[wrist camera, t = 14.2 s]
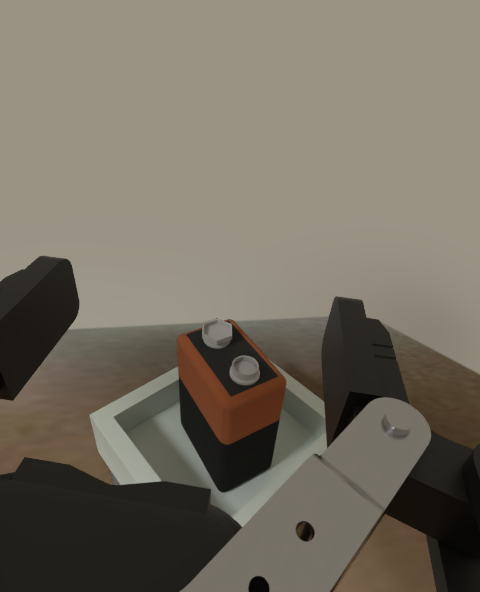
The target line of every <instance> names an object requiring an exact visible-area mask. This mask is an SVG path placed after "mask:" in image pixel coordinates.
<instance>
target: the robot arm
mask: <svg viewBox="0 0 480 592" xmlns="http://www.w3.org/2000/svg"><path fill="white" fill-rule="evenodd" d="M78 310H79V298H78V293H77V288H76V284H75V279H74V274H73V269H72V265H71V263H70V261H69V260H67V259H63V258H55V257H48V256H40V257H39V258H37V259H36V260H35V261H34V262H32V263H31V264H30V265H29V266H28V267H27V268H26V269H25V270H20V271H18V272H16V273H14V274H12V275H10V276H8V277H6V278H4V279H3V280H2V281H1V282H0V399H5V400H12V401H13V400H14V399H15V397H16V396H17V395H18V393H19V392H20V391H21V389H22V388H23V387H24V385H25V384H26V383H27V382H28V380H29V379H30V378H31V376H32V375H33V374H34V372H35V371H36V370H37V369H38V367H39V366H40V365H41V363H42V362H43V361H44V359H45V358H46V357H47V355H48V354H49V353H50V352H51V350H52V349H53V348H54V346H55V345H56V344H57V342H58V341H59V340H60V339H61V337H62V336H63V335H64V333H65V332H66V331H67V329H68V328H69V327H70V325H71V324H72V323H73V322H74V320H75V319H76V317H77V314H78ZM322 372H323V389H324V406H325V423H326V440H327V449H326V450H325V451H324V452H323V453H322V454H321V455H318V454H316V453H315V454H313V455H311V456H310V457H309V458H308V459H307V460H306V461H305V462H304V463H303V464H302V465H301V466H300V467H299V468H298V469H297V470H296V471H295V472H294V473H293V474H292V475H291V476H290V477H289V479H288V480H287V481H286V482H285V483H284V484H283V485H282V486H281V487H280V488H279V489H278V490H277V491H276V492H275V493H274V494H273V495H272V496H271V498H270V499H269V500H268V501H267V502H266V503H265V504H264V505H263V506H262V507H261V508H260V509H259V510H258V511H257V512H256V513H255V514H254V516H253V517H252V518H251V519H250V520H249V521H248V522H247V523H246V524H245V525H244V526H243V527H242V526H241V525H240V524H239V523H238V522H237V521H236V520H234V519H233V518H232V517H231V516H230V515H229V514H227V513H226V512H224V511H223V510H221V509H220V508H218V507H216V506H214V505H212V504H210V501H211V489H208V488H202V487H196V486H190V485H184V484H179V483H173V482H167V481H159V482H148V483H136V484H125V485H110V484H107V483H105V482H103V481H101V480H99V479H97V478H95V477H93V476H91V475H89V474H87V473H85V472H83V471H81V470H79V469H77V468H75V467H73V466H71V465H67V464H61V463H56V462H50V461H44V460H38V459H32V458H26V457H25V458H24V459H23V461H22V462H21V464H20V465H19V467H18V469H17V470H16V472H13V473H7V474H2V475H0V592H334V591H335V590H336V588H337V587H338V585H339V584H340V582H341V580H342V579H343V577H344V576H345V574H346V573H347V571H348V570H349V568H350V567H351V565H352V564H353V562H354V561H355V559H356V557H357V556H358V554H359V553H360V551H361V550H362V548H363V547H364V545H365V544H366V542H367V541H368V539H369V538H370V536H371V535H372V533H373V532H374V530H375V529H376V527H377V526H378V524H379V523H380V521H381V520H382V518H383V517H384V515H385V514H387V515H389V516H391V517H393V518H395V519H397V520H399V521H401V522H403V523H405V524H407V525H409V526H411V527H413V528H414V529H416V530H418V531H420V532H422V533H424V534H426V537H427V542H428V548H429V553H430V558H431V564H432V569H433V574H434V580H435V585H436V590H437V592H480V444H479V445H477V446H476V448H475V449H474V450H472V449H470V448H467V447H465V446H462V445H460V444H458V443H455V442H453V441H451V440H448V439H446V438H444V437H442V436H439V435H438V434H436V433H434V432H433V431H431V430H430V427H429V425H428V423H427V421H426V420H425V418H424V417H423V416H422V414H421V413H420V412H419V411H417V410H416V409H415V408H414V407H412V406H411V405H409V402H408V398H407V395H406V391H405V387H404V384H403V380H402V377H401V373H400V370H399V366H398V363H397V361H396V356H395V352H394V349H393V345H392V341H391V338H390V334H389V332H388V331H387V330H386V328H385V327H384V326H383V325H382V324H381V322H380V321H379V320H377V319H370V318H366V314H365V310H364V305H363V301H362V300H358V299H351V298H343V297H335V298H334V301H333V305H332V308H331V312H330V315H329V319H328V323H327V326H326V330H325V334H324V338H323V343H322Z"/></svg>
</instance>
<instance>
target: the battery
mask: <svg viewBox="0 0 480 592" xmlns="http://www.w3.org/2000/svg"><path fill="white" fill-rule="evenodd" d="M177 351H178V374H179V396H180V418H181V424H182V426H183V428H184V430H185V432H186V434H187V435H188V437H189V439H190V441H191V443H192V444H193V446H194V448H195V450H196V452H197V453H198V455H199V457H200V459H201V461H202V462H203V464H204V466H205V468H206V470H207V471H208V473H209V475H210V477H211V479H212V480H213V482H214V484H215V486H216V487H217V489H218V490H219V491H220V492H222V493H225V492H227V491H229V490H231V489H233V488H234V487H236V486H238V485H240V484H242V483H243V482H245V481H247V480H249V479H251V478H252V477H254V476H256V475H258V474H259V473H261V472H263V471H265V470H267V469H268V468H270V467H271V464H272V458H273V453H274V448H275V442H276V437H277V432H278V426H279V421H280V416H281V410H282V405H283V400H284V394H285V389H286V379H285V377H284V376H283V375H282V374H281V372H280V371H279V370H278V369H277V368H276V367H275V366H274V365H273V364H272V362H271V361H270V360H269V359H268V358H267V357H266V356H265V355H264V354H263V353H262V351H261V350H260V349H259V348H258V347H257V346H256V345H255V344H254V343H253V341H252V340H251V339H250V338H249V337H248V336H247V335H246V334H245V333H244V332H243V330H242V329H241V328H240V327H239V326H238V325H237V324H236V323H235V322H234V321H233V320H231V319H229V320H225V321H223V320H221V319H218V318H216V319H213V320H210V321H207V322H204V323H203V327H202V328H200V329H197V330H194V331H191V332H188V333H185V334H182V335H180V336H179V337H178V339H177Z"/></svg>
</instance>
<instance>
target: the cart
mask: <svg viewBox="0 0 480 592" xmlns="http://www.w3.org/2000/svg"><path fill="white" fill-rule="evenodd" d="M271 362H272V361H271ZM272 364H273V365H274V366H275V367H276V368H277V369H278V370H279V371H280V372H281V374H282V375H283V376H284V377H285V379H286V389H285V394H284V400H283V405H282V410H281V416H280V421H279V426H278V432H277V437H276V442H275V448H274V453H273V458H272V464H271V467H270V468H268V469H267V470H265V471H263V472H261V473H259V474H258V475H256V476H254V477H252V478H251V479H249V480H247V481H245V482H243V483H242V484H240V485H238V486H236V487H234V488H233V489H231V490H229V491H227V492H225V493H222V492H220V491H219V490H218V489H217V487H216V486H215V484H214V482H213V480H212V479H211V477H210V475H209V473H208V471H207V470H206V468H205V466H204V464H203V462H202V461H201V459H200V457H199V455H198V453H197V452H196V450H195V448H194V446H193V444H192V443H191V441H190V439H189V437H188V435H187V434H186V432H185V430H184V428H183V426H182V424H181V418H180V396H179V374H178V367H176V368H174V369H172V370H170V371H168V372H167V373H165V374H163V375H161V376H159V377H158V378H156V379H154V380H152V381H150V382H148V383H147V384H145V385H143V386H141V387H139V388H138V389H136V390H134V391H132V392H130V393H128V394H127V395H125V396H123V397H121V398H119V399H117V400H116V401H114V402H112V403H110V404H108V405H107V406H105V407H103V408H101V409H99V410H97V411H96V412H94V413H92V414H90V415H89V416H90V420H91V424H92V428H93V432H94V436H95V439H96V443H97V447H98V451H99V453H100V455H101V456H102V458H103V459H104V461H105V462H106V464H107V465H108V467H109V468H110V470H111V476H112V481H113V483H114V485H125V484H136V483H148V482H159V481H167V482H173V483H179V484H184V485H190V486H196V487H202V488H208V489H211V501H210V504H212V505H214V506H216V507H218V508H220V509H221V510H223V511H224V512H226V513H227V514H229V515H230V516H231V517H232V518H233V519H234V520H236V521H237V522H238V523H239V524H240V525H241V526H242V527H243V526H244V525H245V524H246V523H247V522H248V521H249V520H250V519H251V518H252V517H253V516H254V514H255V513H256V512H257V511H258V510H259V509H260V508H261V507H262V506H263V505H264V504H265V503H266V502H267V501H268V500H269V499H270V498H271V496H272V495H273V494H274V493H275V492H276V491H277V490H278V489H279V488H280V487H281V486H282V485H283V484H284V483H285V482H286V481H287V480H288V479H289V477H290V476H291V475H292V474H293V473H294V472H295V471H296V470H297V469H298V468H299V467H300V466H301V465H302V464H303V463H304V462H305V461H306V460H307V459H308V458H309V457H310V456H311V455H313V454H315V453H316V454H318V455H321V454H322V453H323V452H324V451H325V450H326V449H327V440H326V423H325V406H324V401H322V400H321V399H320V398H319V397H317V396H316V395H315V394H313V393H312V392H311V391H309V390H308V389H307V388H306V387H304V386H303V385H302V384H300V383H299V382H298V381H296V380H295V379H294V378H292V377H291V376H290V375H289V374H287V373H286V372H285V371H283V370H282V369H281V368H279V367H278V366H277V365H276V364H274V363H273V362H272Z"/></svg>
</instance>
